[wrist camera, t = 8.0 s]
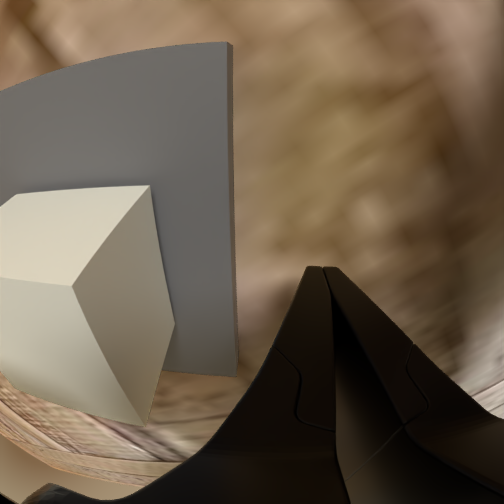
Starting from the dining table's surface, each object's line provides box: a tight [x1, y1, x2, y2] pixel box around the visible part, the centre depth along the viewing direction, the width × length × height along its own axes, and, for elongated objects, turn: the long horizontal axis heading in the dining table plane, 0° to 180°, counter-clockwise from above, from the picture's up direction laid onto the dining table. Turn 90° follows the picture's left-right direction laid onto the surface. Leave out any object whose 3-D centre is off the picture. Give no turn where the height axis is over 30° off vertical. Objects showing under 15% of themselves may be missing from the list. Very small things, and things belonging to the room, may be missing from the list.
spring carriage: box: [0, 185, 175, 427], centre depth 7 cm, size 5×5×4 cm
